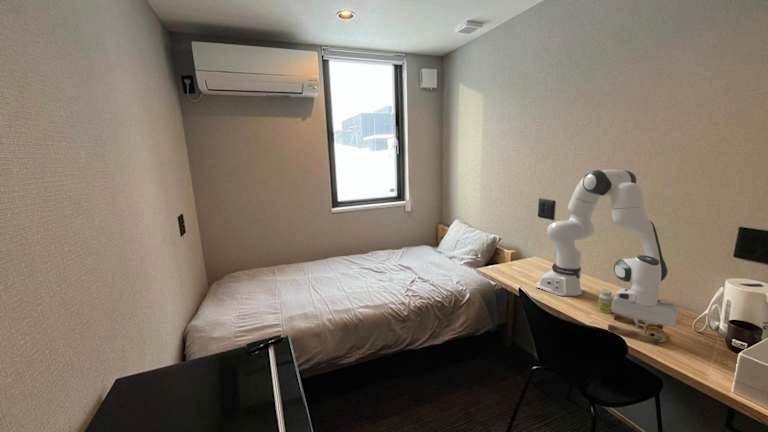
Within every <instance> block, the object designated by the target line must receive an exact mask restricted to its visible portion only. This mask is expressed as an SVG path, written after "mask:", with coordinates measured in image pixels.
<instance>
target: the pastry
mask: <svg viewBox="0 0 768 432" xmlns="http://www.w3.org/2000/svg"><path fill="white" fill-rule="evenodd" d="M655 333H657V334H660V339H659V343H665V342H666V341H668V335H667V333H666V332H665V330H664V329H663V330H662V329H660V328H657V327H648V328H646V329H645V330H644V334H647V335H651V336H654V334H655Z"/></svg>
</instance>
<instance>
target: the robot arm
mask: <svg viewBox="0 0 768 432" xmlns="http://www.w3.org/2000/svg"><path fill="white" fill-rule="evenodd" d="M605 195H606V196H608V197H609V198H610V200H611V201H610V202H611V204H610V205H611V217H612V221H613V223H614V224H615V225H616V226H617V227H619V228H621V229H623V230H626V231H628V232H631V233H634V234H636V235H637V236H638V237H639V238H640V239H641V243H642V247H643V250H644V251H643V252H644V255H643V254H642V255H641V254H640V255H637V256H635V257H631V258H620V259H619V258H618V259H617V261H616V262H615V263H614V266H613V273H614V276H615V277H616V278H617V279H619V280H620V281H623V282H626V283H630V285H631V286H630V288H629V287H627V288H626V287H625V288H619V289H618V290H617V291H616V293H615V296H614V297H613V303H612V307H611V310H612V312H613V313H614V314H615V313H616V314H620V315H624V316H628V317H632V318H633V320H634V322H635V323H636V325H635V329H638V330H642V331H645V330H646V329H647V328H646V326H647V325H648V324H649V323H650V322H651V323H655V324H661V325H663V326H664V327H669V328H674V327H676V326H677V315H678V314H679V312H680V308H679V306H678V305H677V304H676V303H673V302H669V301H665V300H662V299H660V287H659V286H660V284H661V283H662V281H663V280H665V279H666V277H667V276H668V271H669V270H668V267H667V264H666V263H665V259H664V258H663V254H662V248H661V245H660V241H659V236H658V233H657V229H656V226H655V224H654V223H653V221H651V220H649V218H648V217H647V214H646V212H645V202H644V195H643V191H642V188H641V186H640V185H639V184H638V183H637V176H636V175H635V173H633V172H631V171H629V170H625V169H611V168H610V169H603V170H601V169H595V170H592V171H589V172H587V173H586V174H585V175H584V177H583V178H581V180H579V183H578V184H577V185H576V187H575V189H574V191H573V193H572V196H571V198H570V201H569V203H568V205H567V211H568V212H569V213H570V217H569V219H567V220H565V219H564V220H558V221H557V220H556V221H554V222H552V223H550V224H548V226H547V228H546V235H547V237H548V238H549V240H551V241H552V242H553V244H554V245H555V248H556V249H555V250H556V261H555V262H554V263H552V265H551V269H550V270H549V271H547V272H545V273H543V274H542V275H541V277H540V279H539V280H538V281H537V282H536V283H535V284H534V287H535V286H536V287H538V288H541V289H543V290H542V291H544V290H545V291H544V292H547V291H548V293H550V292H551V293H550V294H553V293H554V295H557V296H560V297H566V296H568V297H569V296H570V297H574V296H575V297H576V296H580V295H582V294H583V292H582V287H581V277H582V267H581V260H582V253H581V251H580V250H579V249H578V248H576V245H575V242H576V241H581V240H584V239H587V238H589V237H591V236H592V235H594V233H595V226H594V224H593V222H592V215H593V213H594V211H595V209H596V206H597V205H598V201H599V199H600V197H601V196H605ZM536 287H535V288H536ZM538 288H537V289H538ZM541 289H540V290H541ZM638 319H640V320H644V321H645V324H640V323H639V322H638Z"/></svg>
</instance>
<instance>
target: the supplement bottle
mask: <svg viewBox="0 0 768 432" xmlns="http://www.w3.org/2000/svg"><path fill="white" fill-rule="evenodd" d="M612 293H613V292H612V291H611V290H609V289H605V288H604V289H601V290H600V293H599V295H598V303H597V310H599V311H600V312H601V313H605V314H610V313H612V312H613V311H612V310H611V307H612V303H613V300H614V297H613V296H612Z"/></svg>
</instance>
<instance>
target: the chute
mask: <svg viewBox="0 0 768 432" xmlns="http://www.w3.org/2000/svg"><path fill="white" fill-rule="evenodd" d="M633 318H634V317H630V316H626V315H622V314H618V313H614V318H613V319H614V321H617V322H621V323H626V324H630V325H633V326H636V323H635V322H634V320H633ZM638 322H639V323H640V324H645V320H641V319H638ZM648 327H657V328H660V329H662V330H663V331H664V325H661V324H657V323H653V322H650V323H649V324H648V325H647V326H646V329H647V328H648ZM608 330H610V331H612V332H611V333H614V332H615V334H617V335H621V336H624V337H628V338H630V339H635V340H638V341H642V342H644V343H647V344H651V345H654V346H659V345H660V342H659V339H660V334H657V333H655V334H654V336H651V335H647V334H645V332H644V333H643V332H640V331H635V330H632V329H629V328H625V327H622V326H618V325H615V324H611V323H608V326H607V331H608ZM610 331H609V332H610ZM659 347H660V346H659Z"/></svg>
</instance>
